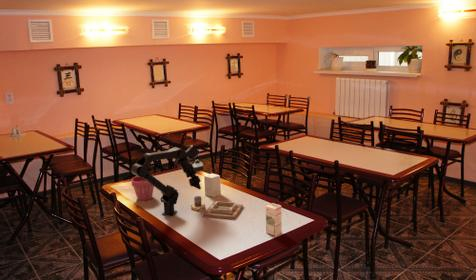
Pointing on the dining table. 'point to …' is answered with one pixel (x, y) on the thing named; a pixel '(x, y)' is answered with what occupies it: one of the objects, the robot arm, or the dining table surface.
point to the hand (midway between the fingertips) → (198, 184)
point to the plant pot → (142, 188)
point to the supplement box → (212, 185)
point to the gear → (197, 204)
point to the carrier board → (223, 210)
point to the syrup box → (273, 219)
